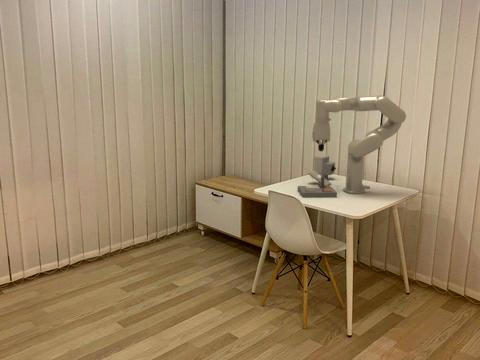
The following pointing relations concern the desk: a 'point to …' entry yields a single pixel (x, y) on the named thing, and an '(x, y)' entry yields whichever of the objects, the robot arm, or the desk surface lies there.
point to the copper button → (326, 189)
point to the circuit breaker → (323, 166)
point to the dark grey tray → (317, 192)
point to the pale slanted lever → (318, 178)
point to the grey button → (309, 189)
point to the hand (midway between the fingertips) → (321, 150)
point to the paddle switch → (322, 183)
